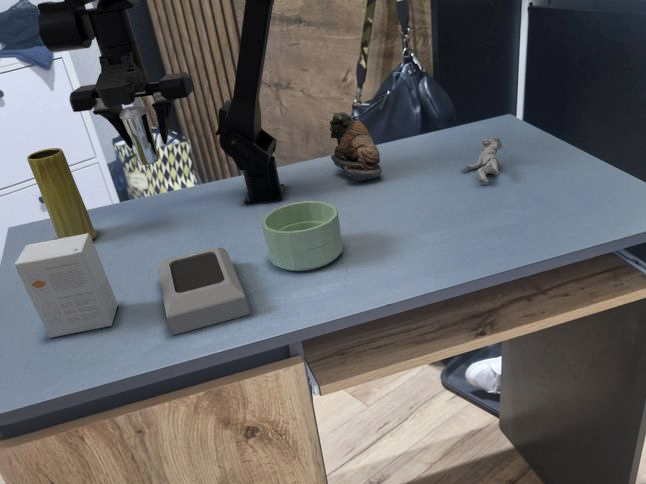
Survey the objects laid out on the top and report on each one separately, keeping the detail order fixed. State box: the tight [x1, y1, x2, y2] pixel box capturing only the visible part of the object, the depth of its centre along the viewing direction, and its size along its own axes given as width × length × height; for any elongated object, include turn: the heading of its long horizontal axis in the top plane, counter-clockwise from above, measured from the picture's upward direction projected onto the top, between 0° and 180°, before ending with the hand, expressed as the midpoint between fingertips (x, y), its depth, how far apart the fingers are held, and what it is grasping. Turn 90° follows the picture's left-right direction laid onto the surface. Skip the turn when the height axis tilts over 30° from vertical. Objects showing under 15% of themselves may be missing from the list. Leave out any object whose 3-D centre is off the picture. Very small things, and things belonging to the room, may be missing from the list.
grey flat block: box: [157, 247, 251, 336], centre depth 82 cm, size 10×4×15 cm
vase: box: [26, 147, 98, 241], centre depth 101 cm, size 6×6×14 cm
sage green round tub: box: [261, 200, 343, 272], centre depth 88 cm, size 10×10×6 cm
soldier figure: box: [462, 136, 503, 186], centre depth 106 cm, size 8×5×12 cm
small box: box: [13, 233, 119, 339], centre depth 79 cm, size 8×6×10 cm
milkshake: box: [119, 98, 160, 166], centre depth 106 cm, size 5×5×10 cm
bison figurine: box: [329, 111, 383, 182], centre depth 111 cm, size 12×7×10 cm, turn 28°
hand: (148, 145), depth 107 cm, fingers closed on milkshake, 5 cm apart
